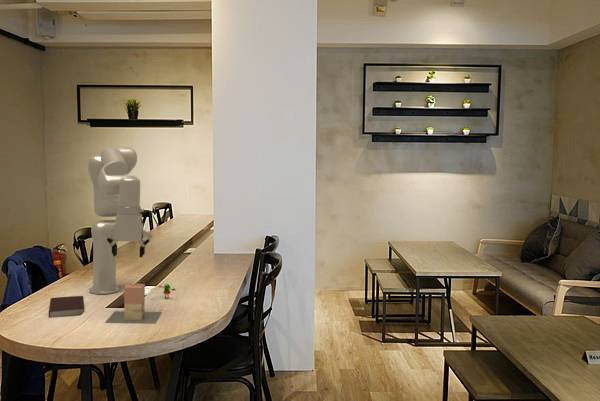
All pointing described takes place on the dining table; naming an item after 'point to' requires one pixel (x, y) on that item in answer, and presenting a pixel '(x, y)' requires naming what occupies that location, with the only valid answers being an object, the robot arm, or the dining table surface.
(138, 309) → the maple block
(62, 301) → the book
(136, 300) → the terracotta block
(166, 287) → the toy character
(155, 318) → the plate
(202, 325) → the dining table surface
